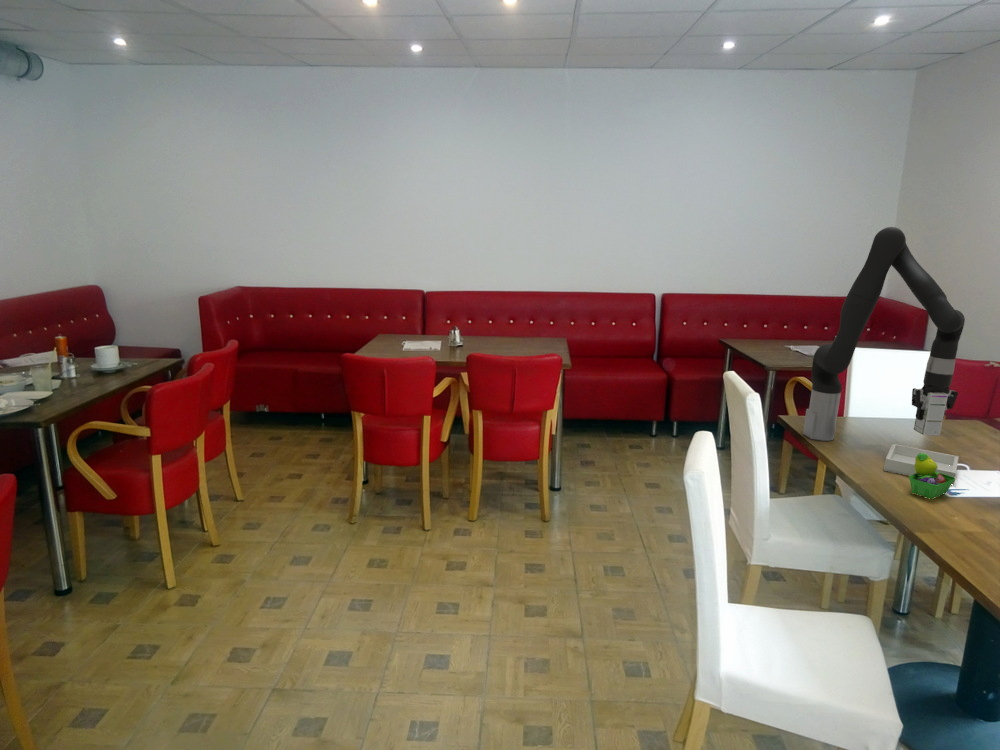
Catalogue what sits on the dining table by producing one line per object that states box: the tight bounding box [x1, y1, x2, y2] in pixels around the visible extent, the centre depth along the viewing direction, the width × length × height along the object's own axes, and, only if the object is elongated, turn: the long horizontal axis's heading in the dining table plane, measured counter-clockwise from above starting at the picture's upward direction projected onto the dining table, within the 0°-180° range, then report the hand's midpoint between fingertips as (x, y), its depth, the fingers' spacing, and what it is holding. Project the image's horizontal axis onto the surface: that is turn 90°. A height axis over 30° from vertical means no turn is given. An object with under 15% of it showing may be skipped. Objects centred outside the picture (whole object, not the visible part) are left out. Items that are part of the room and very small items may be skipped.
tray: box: [883, 443, 959, 485], centre depth 203 cm, size 18×18×4 cm
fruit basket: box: [908, 453, 956, 500], centre depth 185 cm, size 11×9×11 cm
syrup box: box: [913, 392, 948, 437], centre depth 215 cm, size 6×6×14 cm
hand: (929, 419), depth 215 cm, fingers closed on syrup box, 6 cm apart
